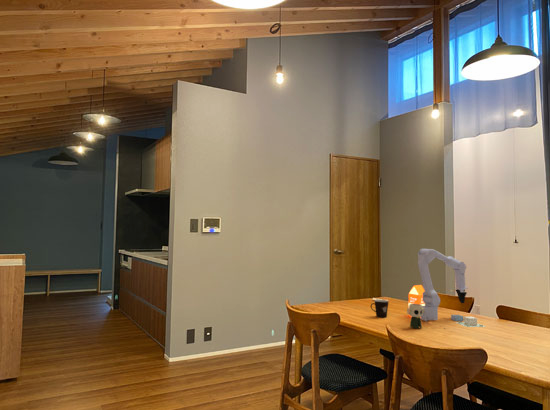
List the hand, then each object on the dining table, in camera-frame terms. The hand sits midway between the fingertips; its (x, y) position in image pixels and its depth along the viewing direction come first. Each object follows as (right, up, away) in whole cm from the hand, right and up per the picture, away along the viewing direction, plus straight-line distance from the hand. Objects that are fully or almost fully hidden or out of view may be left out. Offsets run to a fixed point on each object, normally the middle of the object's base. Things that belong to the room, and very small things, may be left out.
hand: (461, 301), depth 262 cm
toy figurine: (-39, -8, -30) cm, 50 cm away
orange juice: (-27, -11, +4) cm, 29 cm away
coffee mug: (-52, -10, +1) cm, 53 cm away
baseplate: (-5, -9, -23) cm, 25 cm away
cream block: (-5, -8, -23) cm, 24 cm away
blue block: (-8, -10, -11) cm, 16 cm away
